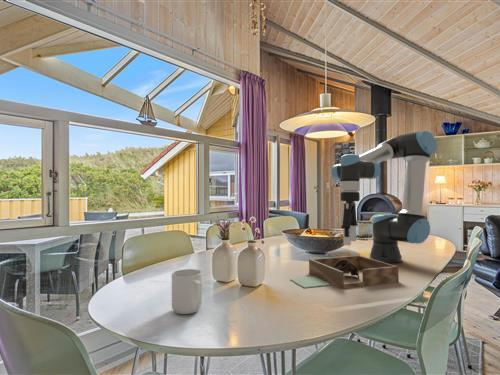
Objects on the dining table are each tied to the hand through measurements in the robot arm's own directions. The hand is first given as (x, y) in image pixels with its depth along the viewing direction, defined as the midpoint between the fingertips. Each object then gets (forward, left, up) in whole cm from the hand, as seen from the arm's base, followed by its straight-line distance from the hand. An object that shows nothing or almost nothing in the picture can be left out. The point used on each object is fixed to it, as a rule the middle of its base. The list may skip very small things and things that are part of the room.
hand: (349, 243), depth 130 cm
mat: (+20, +1, -14) cm, 24 cm away
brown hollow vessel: (-1, -1, -15) cm, 15 cm away
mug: (+68, +15, -14) cm, 71 cm away
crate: (0, 0, -14) cm, 14 cm away
